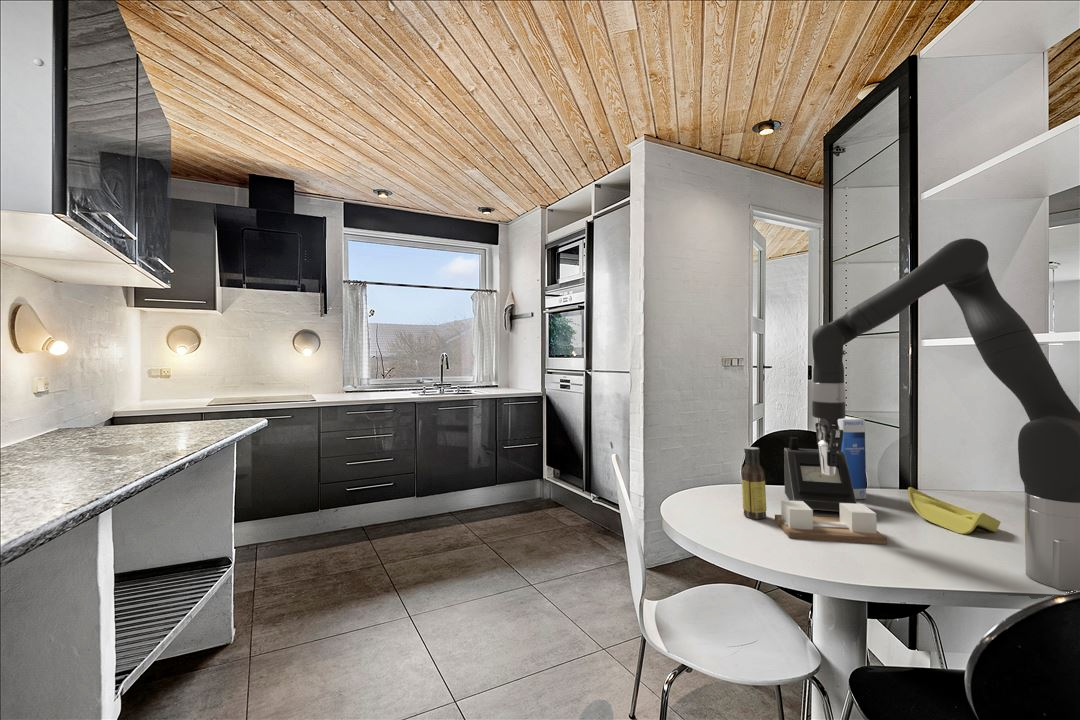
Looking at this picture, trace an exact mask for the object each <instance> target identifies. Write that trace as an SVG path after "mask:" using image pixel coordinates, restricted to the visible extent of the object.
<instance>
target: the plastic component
mask: <svg viewBox="0 0 1080 720" xmlns="http://www.w3.org/2000/svg"><path fill="white" fill-rule="evenodd" d="M907 497H908V499H909V502H910V504H911V506H912V508H913V509H914V511H916V513H917V514H918V515H920V516H921V517H922V518H923V519H924V520H926V521H929V522H930V523H933V524H935V525H937V526H939V527H941V528H945V529H947V530H950V531H952V532H954V533H957V534H959V535H960V534H961V535H968V534H970V533H972V532H973V531H974V530H975V529H976V528H977V527H979V528H981V529H984V530H986V531H990V532H993V533H996V532H997V531H998V530H999V527H1000V524H1001V522H1002V521H1000V520H999V519H997V518H995V517H992V516H991V515H989V514H987V513H985V512H983V511H981V512H979V513H976V512H973V511H971V510H969V509H965V508H963V507H959V506H957V505H954V504H951V503H949V502H946V501H944V500H940V499H938V498H935V497H933V496H930V495H928V494H926V493H923V492H921V491H919V490H917V489H916V488H914V487H912V486H909V487H908V488H907Z"/></svg>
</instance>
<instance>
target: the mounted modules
mask: <svg viewBox="0 0 1080 720" xmlns="http://www.w3.org/2000/svg"><path fill="white" fill-rule="evenodd" d="M780 502H781V503H780V507H781V509H780V510H781V513H780V515H781V518H782V519H784V520H785V522H786V523H787V524H788V527H789V528H794V529H811V530H813V517H814V509H811V508H810V507H809V506H808V505H807V504H805V503H804V502H803V501H789V499H788V500H786V499H781V500H780ZM839 507H840V511H839V518H840V522H843V523H844V524H845V525H846V526H847V527H849V530H850V531H852V532H861V533H877V531H878V530H877V512H875V511H873V510H872V509H870V508H869V507H867V506H866V505H865V504H863V503H857V504H852V503H839Z"/></svg>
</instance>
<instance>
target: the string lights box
mask: <svg viewBox="0 0 1080 720" xmlns="http://www.w3.org/2000/svg"><path fill="white" fill-rule="evenodd" d="M818 420H819V421H820V418H818ZM865 420H866V419H864V418H858V417H854V416H852V417H851V416H847V415H845V418H844V419H838V426H839V428H840V430H843V440H842V448H841V451H842V452H844V453H845V457H846V461H847V465H848V469H849V474H850V478H851V482H852V486H853V491H854V495H855V499H856V500H864V499H865V500H867V474H866V472H867V469H866V468H867V467H866V465H867V464H866V463H867V462H866V426H865V425H866V421H865ZM819 421H818V422H819Z"/></svg>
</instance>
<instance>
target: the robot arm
mask: <svg viewBox="0 0 1080 720" xmlns="http://www.w3.org/2000/svg"><path fill="white" fill-rule="evenodd" d="M989 257H990V256H989V250H988V247H987V245H986V244H984V243H983V242H982V241H980V240H978V239H974V238H959V239H956V240H953V241H951V242H948V243H947V244H945V245H944V246H943V247H942V248H940V249H939V250H938V251H937V252H935V253H934V254H933V255H931V256H930V257H929V258H927V259H926V260H925V261H924V262H923V263H921V264H920V265H919V266H917V267H915V269H913V270H912V271H910V272H909V273H907V274H906V275H904V276H903V277H902V278H900V279H898V280H897V281H896V282H894V283H892V284H891V285H889V286H888V287H887V286H886V287H885V288H884V289H882V290H880V291H879V292H877V293H876V294H874V295H872V296H870V297H869V298H866V299H865V300H864V301H862V302H860V303H858V304H857V305H856V306H854V307H852V308H850V309H849V310H848V311H846V312H845V313H844V314H843V315H841V316H840V317H838V318H836V319H834V320H833V321H830V322H828V323H826V324H822V325H820V326H818V327H816V329H814V332H813V333H812V339H811V342H812V343H811V344H812V355H813V356H812V357H813V369H812V370H813V371H812V372H813V373H812V374H813V375H812V379H813V380H812V391H811V392H812V393H811V397H812V398H811V399H812V400H811V403H812V405H811V407H812V408H811V409H812V410H811V412H812V413H811V415H812V417H813V418H815V419H819V418H820V421H818V422H815V424H814V425H815V433H816V443H817V445H818V443H819V442H820V441H821V440H824V443H826V450H827V465H828V466H829V467H836V466H837V452H839V451H841V448H842V440H843V430H840V428H839V426H838V419H844V418H845V416H846V387H845V367H844V362H843V358H844V357H843V356H844V346H845V345H846V344H848V343H849V342H852V341H853V340H854V339H856V338H858V337H859V336H860V335H862V334H865V333H867V332H870V331H871V330H873V329H875V328H877V327H879V326H881V325H882V324H884V323H886V322H888V321H890V320H891V319H893V318H894V317H896V316H897V315H899V314H900V313H902V312H903V311H904V310H906V309H907V308H908V307H909V306H911V305H912V304H913V303H915V302H916V301H918V300H919V299H920V298H921V297H924V295H926V294H927V293H929V292H931V291H933V290H934V289H935V290H936V289H937V288H939V287H941V286H943V285H944V287H946V289H947V290H948V291H949V294H951V295H952V297H953V299H954V300H955V301H956V304H957V305H958V307H959V308H960V310H961V313H962V315H963V318H964V320H965V323H966V326H967V329H968V331H969V333H970V336H971V338H972V340H973V342H974V344H975V347H976V349H977V350H978V352H979V354H980V356H981V358H982V359H983V361H984V363H985V364H986V367H988V369H989V370H990V371H991V373H992V374H994V375H993V376H995V377H996V378H997V379H998V380H999V381H1000V382H1001V383H1002V384H1003V385H1004V386H1005V387H1006V388H1007V389H1009V390H1010V391H1011V393H1013V395H1014V396H1015V397H1016V398H1017V400H1018V401H1019V402H1020V403H1021V405H1022V408H1023V409H1024V411H1025V413H1026V415H1027V418H1028V419H1029V421H1028V422H1027V423H1025V424H1024V425H1023V426H1022V427H1021V429H1020V431H1019V434H1018V437H1017V454H1018V470H1019V471H1018V472H1019V476H1020V478H1021V481H1022V483H1023V486H1024V549H1025V550H1024V551H1025V554H1024V555H1025V558H1024V559H1025V576H1027V577H1028V578H1029V579H1031V580H1034V581H1035V582H1038V583H1040V584H1044V585H1046V586H1050V587H1052V588H1054V589H1057V590H1060V591H1070V592H1071V591H1072V592H1080V410H1079V409H1078V408H1077V406H1076V405H1075V404H1074V403H1073V401H1072V400H1071V398H1070V397H1069V396H1068V395H1067V393H1066V392H1065V390H1064V388H1063V386H1062V385H1061V383H1060V381H1059V379H1058V377H1057V375H1056V373H1055V371H1054V369H1053V367H1052V366H1051V364H1050V362H1049V361H1048V359H1047V357H1046V355H1045V353H1044V351H1043V349H1042V347H1041V345H1040V343H1039V341H1038V340H1037V338H1036V337H1035V335H1034V333H1033V332H1032V329H1031V328H1030V327H1029V326H1028V324H1027V323H1026V320H1024V319H1023V317H1022V316H1021V315H1020V314H1019V313H1018V312H1017V311H1016V310H1015V309H1014V308H1013V307H1012V306H1011V305H1010V304H1009V303H1008V302H1007V301H1006V300H1005V299H1004V297H1002V295H1001V293H1000V292H999V290H998V288H997V285H996V283H995V282H994V279H993V277H992V274H991V272H990V269H989ZM833 444H835V446H833Z"/></svg>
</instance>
